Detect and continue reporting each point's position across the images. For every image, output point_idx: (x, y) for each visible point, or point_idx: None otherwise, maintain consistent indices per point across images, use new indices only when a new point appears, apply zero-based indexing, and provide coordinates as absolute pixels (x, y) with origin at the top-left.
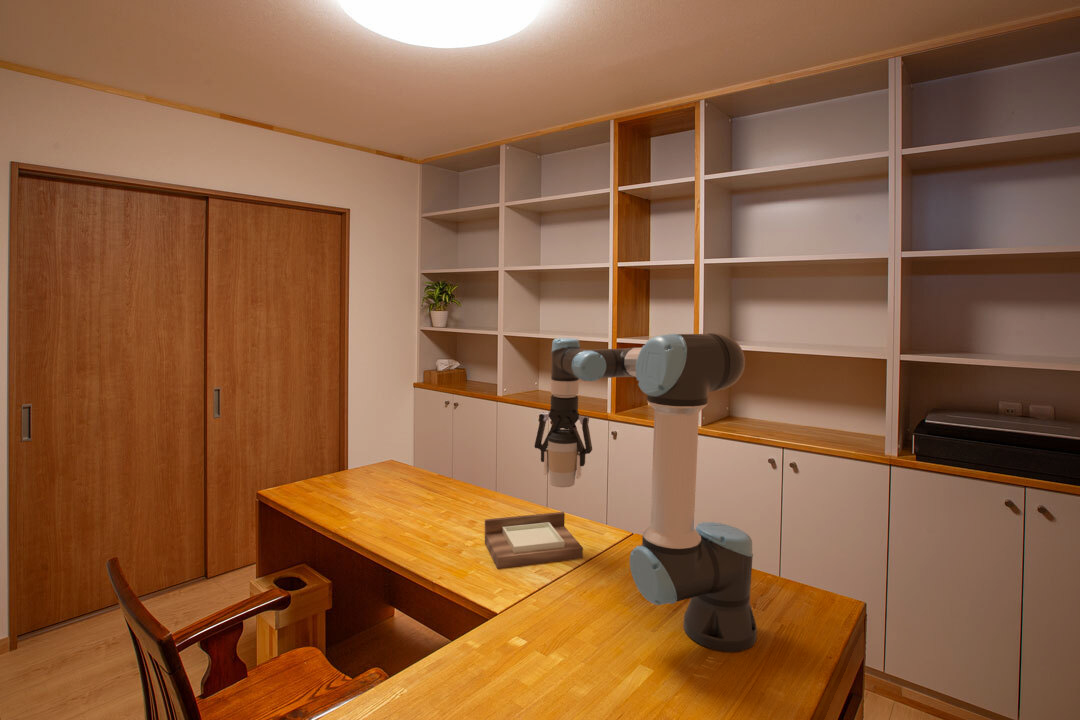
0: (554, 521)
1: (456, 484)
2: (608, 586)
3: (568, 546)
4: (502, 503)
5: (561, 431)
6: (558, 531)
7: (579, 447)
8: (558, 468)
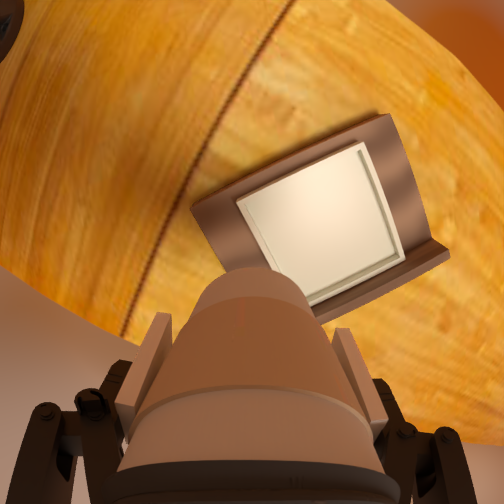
0: None
1: None
2: (124, 86)
3: (227, 208)
4: None
5: None
6: None
7: (100, 452)
8: (267, 310)
